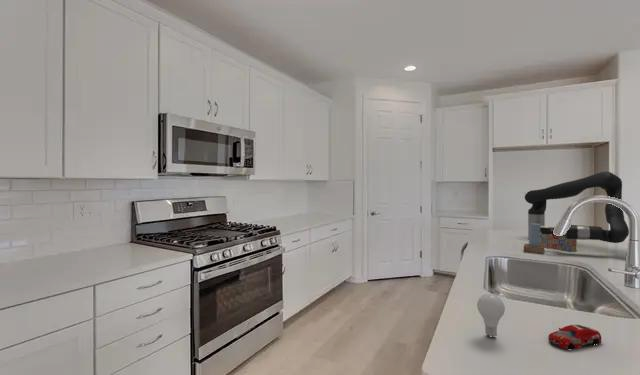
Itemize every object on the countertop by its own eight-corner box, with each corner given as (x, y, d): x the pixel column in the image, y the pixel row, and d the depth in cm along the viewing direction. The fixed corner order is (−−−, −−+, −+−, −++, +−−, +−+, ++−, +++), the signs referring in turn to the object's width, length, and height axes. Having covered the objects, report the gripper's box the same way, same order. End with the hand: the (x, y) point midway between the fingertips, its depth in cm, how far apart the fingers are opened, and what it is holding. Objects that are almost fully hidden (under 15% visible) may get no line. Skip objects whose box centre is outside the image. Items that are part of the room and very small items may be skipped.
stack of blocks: (577, 250, 182) (576, 229, 182) (570, 252, 180) (570, 230, 180) (537, 244, 202) (537, 224, 202) (531, 245, 199) (531, 225, 199)
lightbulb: (473, 331, 87) (472, 290, 87) (497, 331, 87) (496, 290, 87) (484, 342, 81) (484, 299, 81) (510, 342, 81) (509, 299, 81)
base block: (525, 250, 188) (525, 243, 187) (544, 252, 182) (544, 245, 182) (523, 253, 180) (523, 246, 180) (543, 255, 175) (543, 247, 175)
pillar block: (528, 244, 184) (530, 223, 183) (536, 244, 182) (538, 223, 182) (530, 245, 180) (532, 224, 179) (538, 246, 179) (540, 224, 178)
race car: (563, 353, 76) (563, 336, 76) (543, 342, 82) (542, 326, 82) (607, 345, 79) (606, 329, 79) (584, 335, 85) (584, 320, 85)
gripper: (574, 223, 178) (538, 222, 186) (580, 226, 166) (542, 225, 173) (574, 237, 178) (538, 235, 186) (580, 241, 166) (542, 239, 173)
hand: (540, 230), depth 180 cm, fingers open, 8 cm apart
